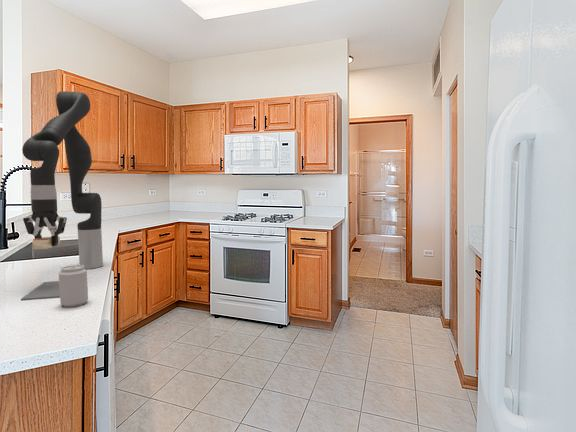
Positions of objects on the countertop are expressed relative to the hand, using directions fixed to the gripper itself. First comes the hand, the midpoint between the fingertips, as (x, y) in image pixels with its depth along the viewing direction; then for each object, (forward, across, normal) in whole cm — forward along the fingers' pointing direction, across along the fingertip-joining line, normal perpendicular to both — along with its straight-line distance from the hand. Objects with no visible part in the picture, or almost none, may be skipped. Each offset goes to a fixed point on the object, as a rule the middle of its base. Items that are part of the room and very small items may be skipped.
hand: (46, 245), depth 126 cm
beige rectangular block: (0, 0, 0) cm, 0 cm away
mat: (+16, -4, +2) cm, 16 cm away
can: (+16, -18, +17) cm, 29 cm away
